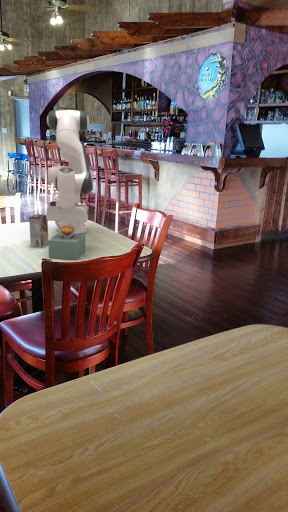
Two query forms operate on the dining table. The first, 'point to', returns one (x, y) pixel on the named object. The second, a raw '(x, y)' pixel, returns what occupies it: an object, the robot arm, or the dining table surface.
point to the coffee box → (38, 230)
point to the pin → (67, 231)
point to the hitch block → (66, 246)
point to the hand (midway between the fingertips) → (67, 230)
